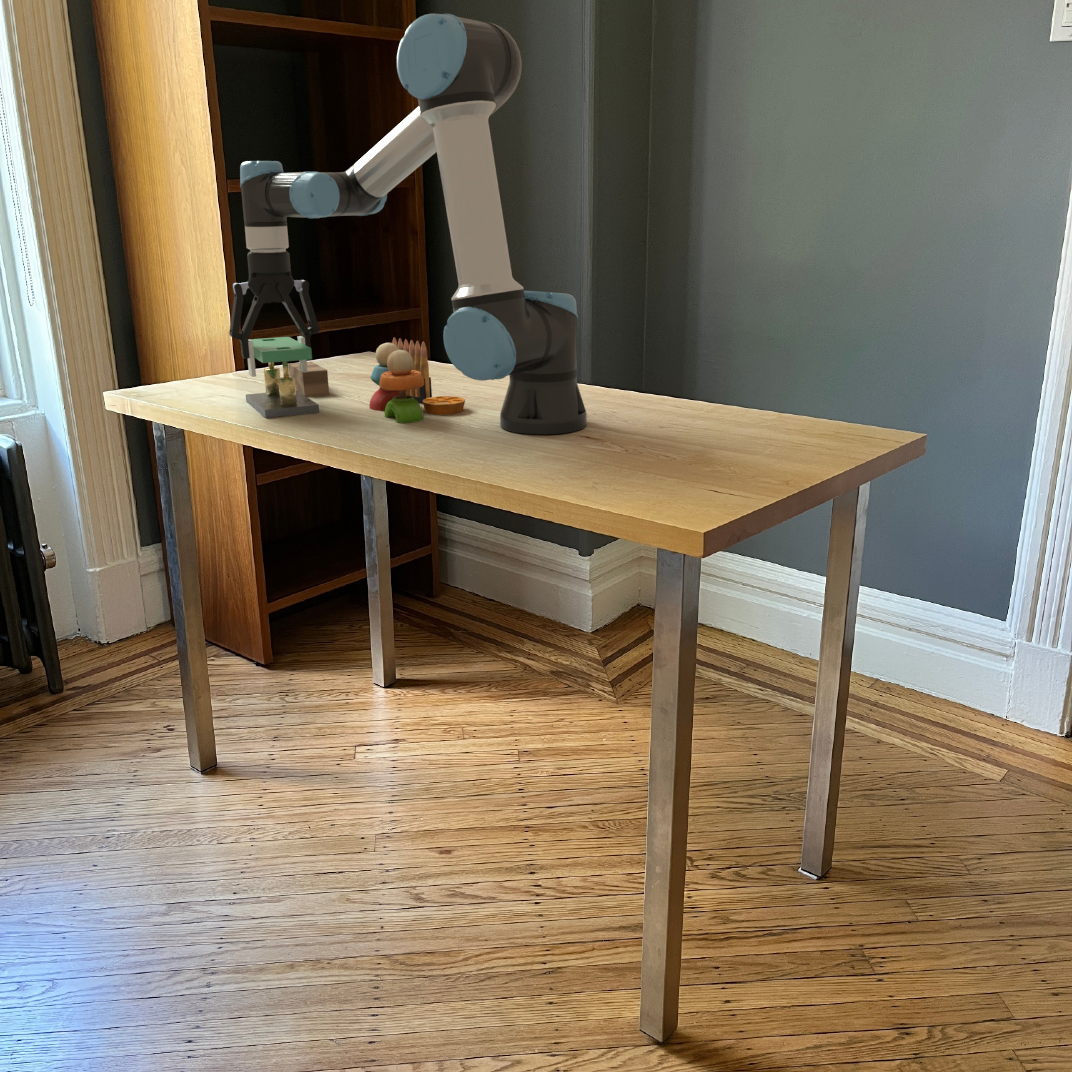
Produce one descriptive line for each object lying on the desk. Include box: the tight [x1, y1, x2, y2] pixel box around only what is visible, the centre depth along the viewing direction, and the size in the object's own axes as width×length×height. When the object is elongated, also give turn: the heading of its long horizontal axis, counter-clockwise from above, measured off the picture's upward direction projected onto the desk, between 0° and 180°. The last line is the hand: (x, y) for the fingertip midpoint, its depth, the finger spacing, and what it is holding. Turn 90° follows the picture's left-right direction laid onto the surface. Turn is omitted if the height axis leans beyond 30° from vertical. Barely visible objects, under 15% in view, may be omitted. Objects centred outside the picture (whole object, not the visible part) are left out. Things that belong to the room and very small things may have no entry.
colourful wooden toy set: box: [368, 342, 466, 424], centre depth 194 cm, size 18×17×12 cm
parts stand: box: [288, 361, 330, 397], centre depth 215 cm, size 12×5×5 cm, turn 26°
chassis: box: [245, 361, 320, 419], centre depth 199 cm, size 17×10×10 cm, turn 26°
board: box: [248, 336, 313, 364], centre depth 197 cm, size 17×9×2 cm, turn 26°
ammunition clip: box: [391, 337, 433, 405], centre depth 203 cm, size 11×2×12 cm, turn 46°
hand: (278, 373), depth 198 cm, fingers closed on board, 9 cm apart
